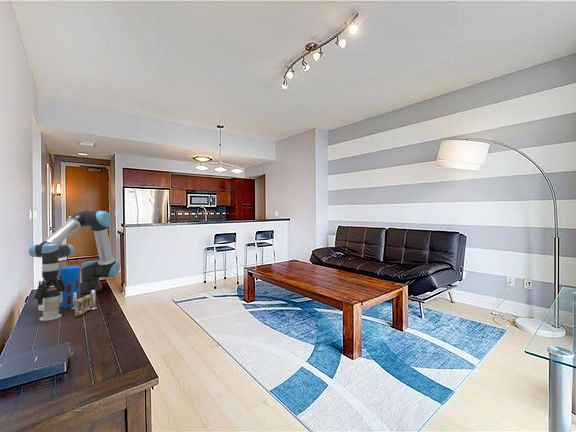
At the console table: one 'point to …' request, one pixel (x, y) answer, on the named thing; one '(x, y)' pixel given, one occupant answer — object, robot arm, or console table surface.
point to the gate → (83, 304)
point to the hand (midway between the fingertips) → (51, 306)
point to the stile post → (74, 300)
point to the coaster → (50, 318)
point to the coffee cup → (51, 304)
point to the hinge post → (93, 299)
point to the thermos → (70, 284)
